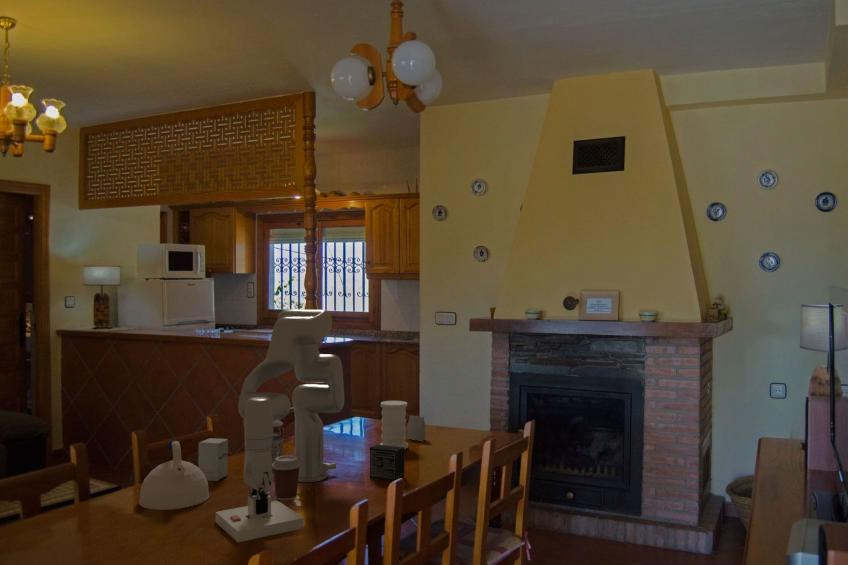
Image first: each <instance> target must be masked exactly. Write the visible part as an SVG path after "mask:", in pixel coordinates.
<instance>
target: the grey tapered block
mask: <svg viewBox="0 0 848 565" xmlns="http://www.w3.org/2000/svg"><path fill="white" fill-rule="evenodd" d="M426 434H427V433H426V422H425V417H424V416H418V415H415V416H414V415H409V417H408V422H407V426H406V440H407V439H412V440H421V441H422V440H424V439H425V440H426V439H427V438H426ZM422 442H423V441H422Z"/></svg>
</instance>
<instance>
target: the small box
mask: <svg viewBox="0 0 848 565" xmlns="http://www.w3.org/2000/svg"><path fill="white" fill-rule="evenodd" d="M403 477H404V478H405V450H404V447H397V446H387V445H380V444H377V445H374V446H371V447H369V478H370V479H373V480H382V481H389V482H394V481H393V480H396V479H398V478H402V479H404V478H403Z"/></svg>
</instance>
